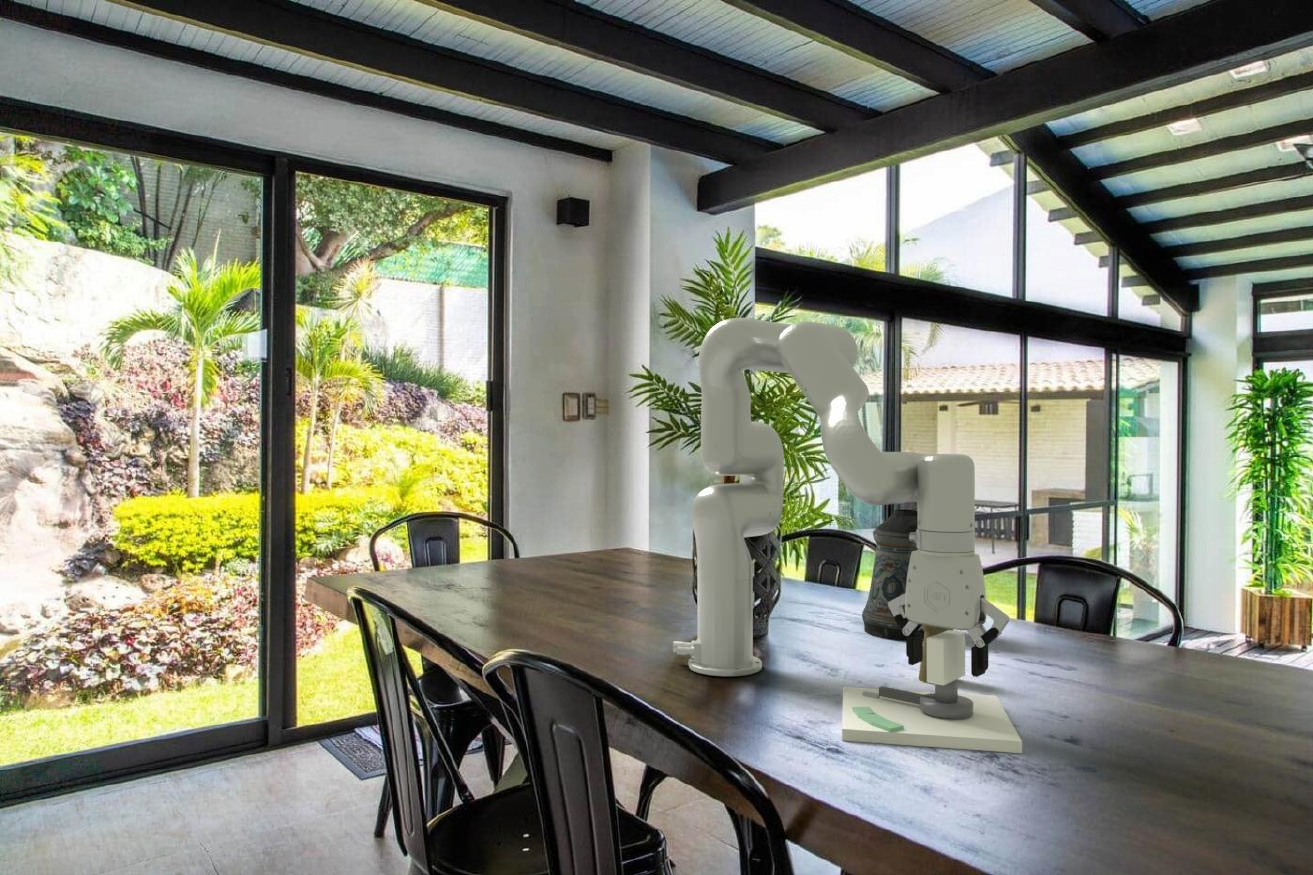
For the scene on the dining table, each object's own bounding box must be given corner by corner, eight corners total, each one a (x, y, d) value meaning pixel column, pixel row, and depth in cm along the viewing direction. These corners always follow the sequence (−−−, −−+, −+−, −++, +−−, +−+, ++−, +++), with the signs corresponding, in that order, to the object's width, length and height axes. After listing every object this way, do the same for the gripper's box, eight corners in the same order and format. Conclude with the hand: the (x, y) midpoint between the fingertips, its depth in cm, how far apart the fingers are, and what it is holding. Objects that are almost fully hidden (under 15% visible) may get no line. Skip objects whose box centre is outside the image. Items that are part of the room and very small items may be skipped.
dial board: (842, 740, 114) (842, 725, 114) (843, 696, 134) (843, 683, 134) (1022, 753, 109) (1022, 737, 109) (996, 706, 129) (996, 692, 129)
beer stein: (880, 620, 190) (879, 505, 190) (971, 632, 179) (970, 509, 179) (849, 634, 177) (848, 510, 177) (945, 647, 165) (945, 515, 165)
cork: (959, 685, 139) (959, 616, 140) (920, 683, 141) (920, 615, 141) (954, 676, 145) (954, 609, 145) (916, 674, 147) (916, 608, 147)
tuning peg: (981, 710, 121) (981, 634, 121) (960, 722, 116) (960, 643, 116) (891, 691, 130) (891, 621, 130) (868, 701, 125) (868, 628, 125)
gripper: (875, 540, 124) (875, 663, 124) (998, 551, 112) (998, 686, 112) (900, 536, 130) (900, 653, 129) (1019, 545, 118) (1020, 674, 118)
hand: (946, 668), depth 121 cm, fingers open, 8 cm apart
